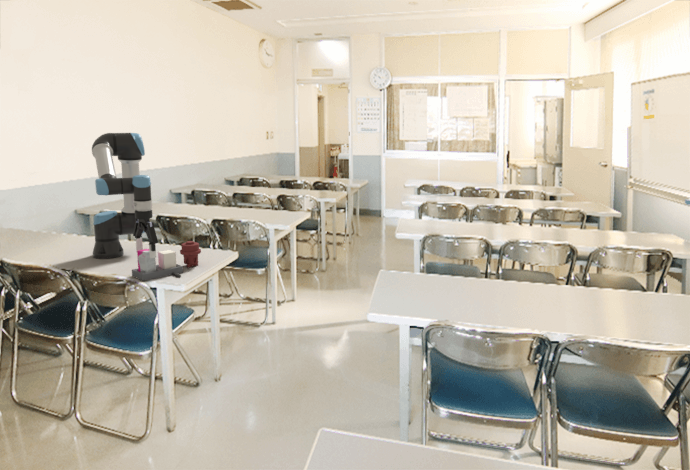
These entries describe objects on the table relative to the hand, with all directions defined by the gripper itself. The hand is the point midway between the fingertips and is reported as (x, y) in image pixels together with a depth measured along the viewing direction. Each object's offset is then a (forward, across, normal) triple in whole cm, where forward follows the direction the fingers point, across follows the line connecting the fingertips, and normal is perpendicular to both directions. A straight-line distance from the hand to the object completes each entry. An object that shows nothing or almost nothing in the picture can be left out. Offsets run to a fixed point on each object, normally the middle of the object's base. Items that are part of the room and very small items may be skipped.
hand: (146, 254), depth 245 cm
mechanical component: (+11, -2, +24) cm, 26 cm away
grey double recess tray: (+10, +4, +5) cm, 12 cm away
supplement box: (+9, 0, 0) cm, 9 cm away
